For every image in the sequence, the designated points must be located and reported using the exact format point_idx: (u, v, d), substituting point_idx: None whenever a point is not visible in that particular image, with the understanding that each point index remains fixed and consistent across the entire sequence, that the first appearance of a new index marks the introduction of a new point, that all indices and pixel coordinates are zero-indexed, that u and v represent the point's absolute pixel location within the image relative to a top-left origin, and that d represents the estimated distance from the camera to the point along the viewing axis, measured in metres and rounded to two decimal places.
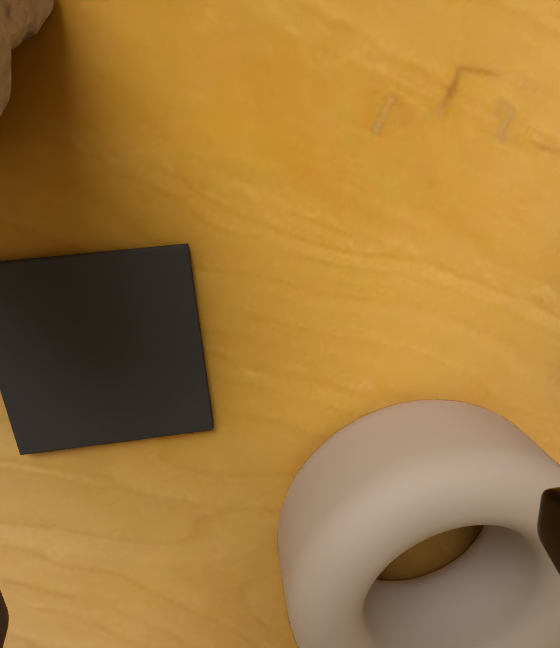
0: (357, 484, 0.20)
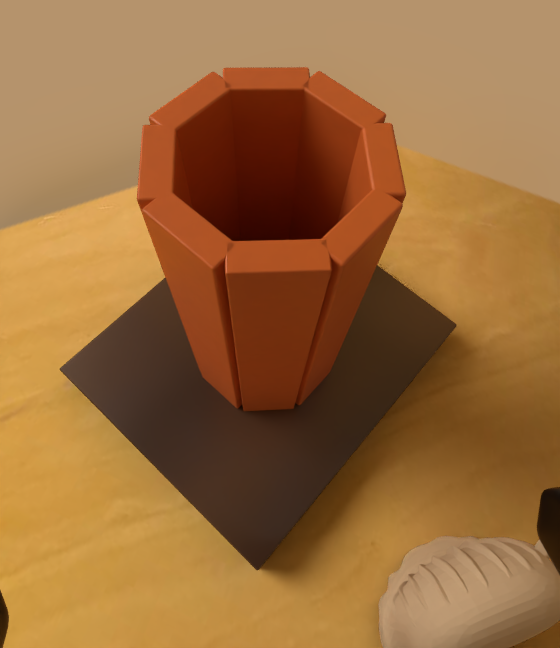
0: None
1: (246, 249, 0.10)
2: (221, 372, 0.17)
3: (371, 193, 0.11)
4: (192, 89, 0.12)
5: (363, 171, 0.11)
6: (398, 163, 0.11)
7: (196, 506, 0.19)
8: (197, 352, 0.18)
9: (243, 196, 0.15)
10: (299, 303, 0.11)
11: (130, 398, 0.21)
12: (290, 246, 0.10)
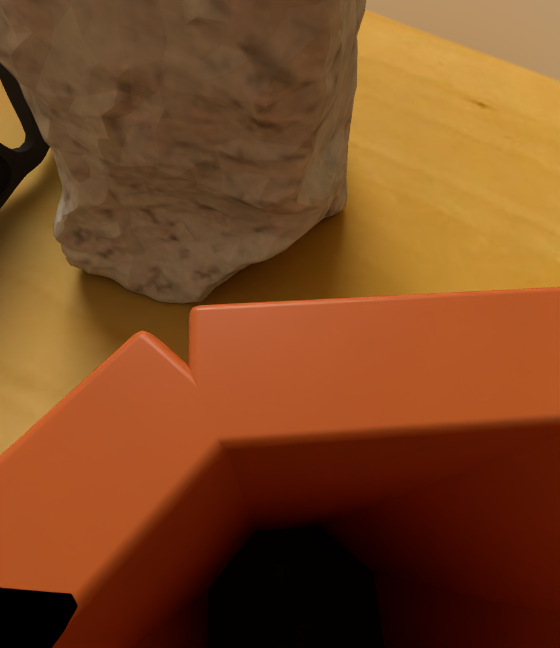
0: None
1: None
2: None
3: None
4: (25, 461, 0.02)
5: None
6: None
7: None
8: None
9: (262, 508, 0.06)
10: None
11: None
12: None
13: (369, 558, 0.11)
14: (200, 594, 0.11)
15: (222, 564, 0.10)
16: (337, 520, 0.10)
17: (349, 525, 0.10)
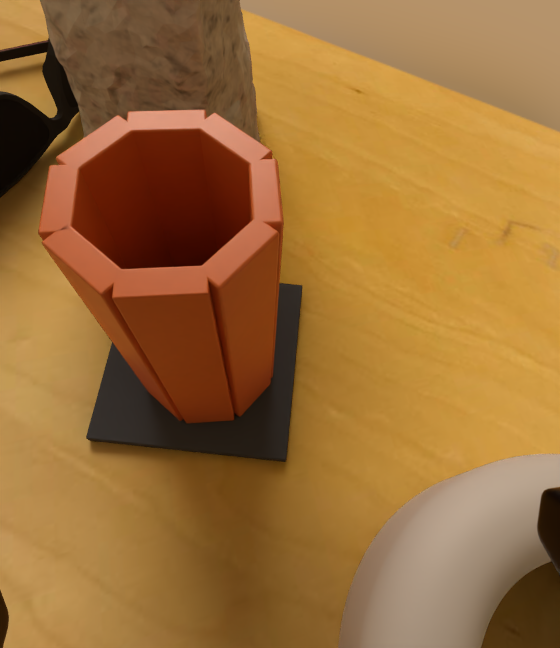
0: (456, 478, 0.17)
1: (132, 276, 0.11)
2: (154, 387, 0.18)
3: (251, 223, 0.12)
4: (97, 131, 0.13)
5: (250, 202, 0.13)
6: (278, 195, 0.12)
7: None
8: (133, 368, 0.19)
9: (165, 222, 0.17)
10: (192, 322, 0.12)
11: None
12: (172, 272, 0.11)
13: None
14: None
15: None
16: None
17: None
